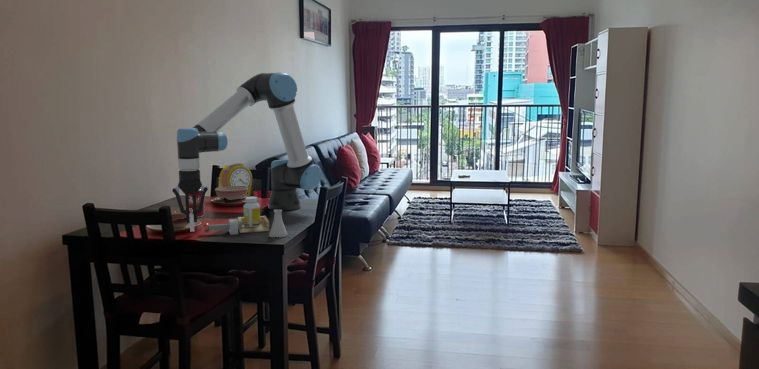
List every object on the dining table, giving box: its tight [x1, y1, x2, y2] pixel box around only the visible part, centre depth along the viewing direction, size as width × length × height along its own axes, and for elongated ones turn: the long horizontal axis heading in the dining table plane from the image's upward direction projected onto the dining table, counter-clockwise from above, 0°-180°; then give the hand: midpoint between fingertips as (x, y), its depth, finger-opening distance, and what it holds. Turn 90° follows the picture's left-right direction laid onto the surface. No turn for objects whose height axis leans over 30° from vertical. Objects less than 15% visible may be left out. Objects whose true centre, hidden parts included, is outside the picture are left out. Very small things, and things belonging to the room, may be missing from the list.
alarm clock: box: [218, 162, 253, 197], centre depth 286 cm, size 15×8×18 cm, turn 137°
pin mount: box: [228, 218, 239, 236], centre depth 218 cm, size 3×6×5 cm, turn 18°
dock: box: [236, 215, 271, 234], centre depth 225 cm, size 11×12×3 cm
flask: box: [268, 210, 289, 239], centre depth 213 cm, size 7×7×10 cm
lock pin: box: [203, 222, 240, 234], centre depth 216 cm, size 13×4×4 cm, turn 108°
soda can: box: [189, 188, 205, 219], centre depth 245 cm, size 7×7×12 cm
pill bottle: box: [242, 196, 261, 227], centre depth 225 cm, size 6×6×12 cm
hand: (192, 230), depth 213 cm, fingers closed
